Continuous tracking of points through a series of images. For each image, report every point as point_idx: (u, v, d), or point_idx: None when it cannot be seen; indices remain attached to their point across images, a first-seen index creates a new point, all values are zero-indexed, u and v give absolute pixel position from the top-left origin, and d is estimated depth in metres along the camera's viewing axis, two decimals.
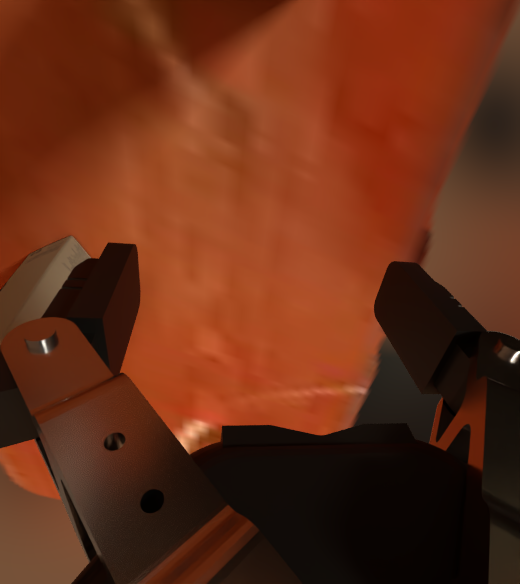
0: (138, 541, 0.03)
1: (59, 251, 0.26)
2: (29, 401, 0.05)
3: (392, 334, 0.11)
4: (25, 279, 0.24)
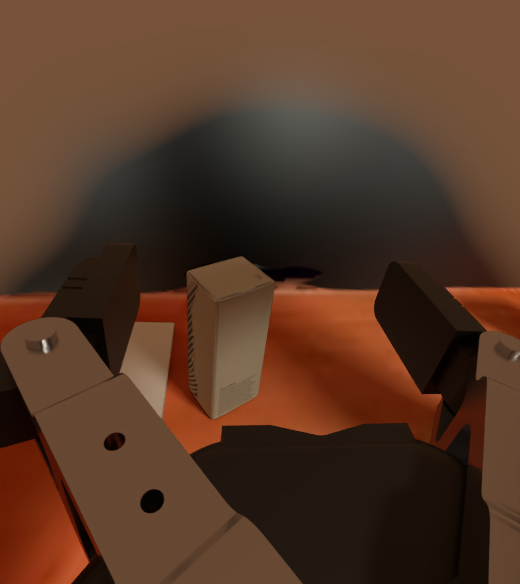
0: (138, 541, 0.03)
1: (260, 376, 0.31)
2: (29, 401, 0.05)
3: (392, 334, 0.11)
4: None
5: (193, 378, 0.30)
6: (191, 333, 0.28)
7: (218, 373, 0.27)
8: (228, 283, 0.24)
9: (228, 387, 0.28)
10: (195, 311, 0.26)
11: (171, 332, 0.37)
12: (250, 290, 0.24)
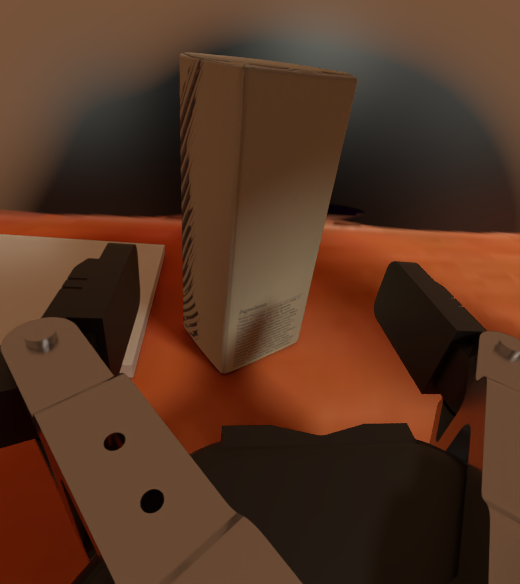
0: (138, 541, 0.03)
1: None
2: (29, 401, 0.05)
3: (392, 334, 0.11)
4: None
5: (191, 302, 0.17)
6: (187, 205, 0.15)
7: (238, 272, 0.14)
8: (266, 61, 0.11)
9: (253, 309, 0.16)
10: (195, 141, 0.13)
11: (159, 255, 0.24)
12: (314, 71, 0.11)
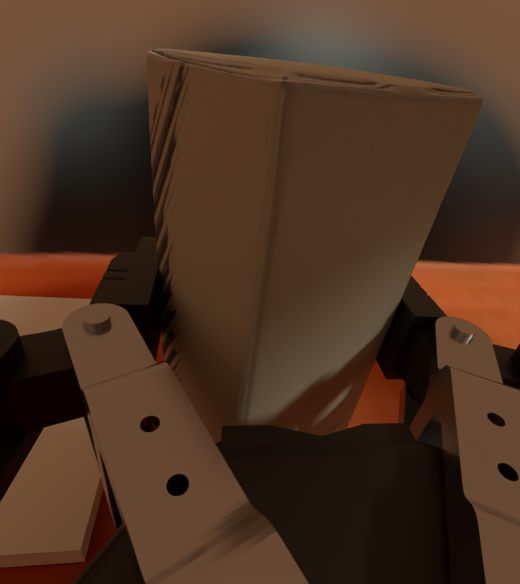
0: (138, 541, 0.03)
1: (348, 423, 0.12)
2: (80, 377, 0.06)
3: None
4: None
5: None
6: (168, 302, 0.09)
7: None
8: (320, 66, 0.06)
9: None
10: (178, 213, 0.07)
11: None
12: (421, 88, 0.05)
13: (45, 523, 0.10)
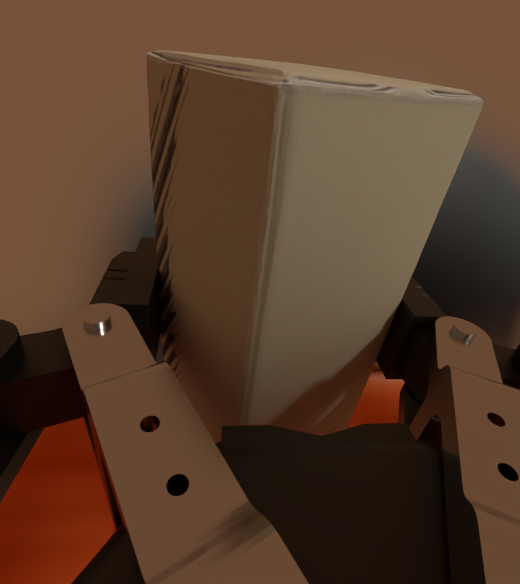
0: (138, 541, 0.03)
1: (348, 424, 0.12)
2: (81, 377, 0.06)
3: None
4: None
5: None
6: (167, 304, 0.09)
7: None
8: (320, 68, 0.06)
9: None
10: (178, 215, 0.07)
11: None
12: (422, 90, 0.05)
13: None
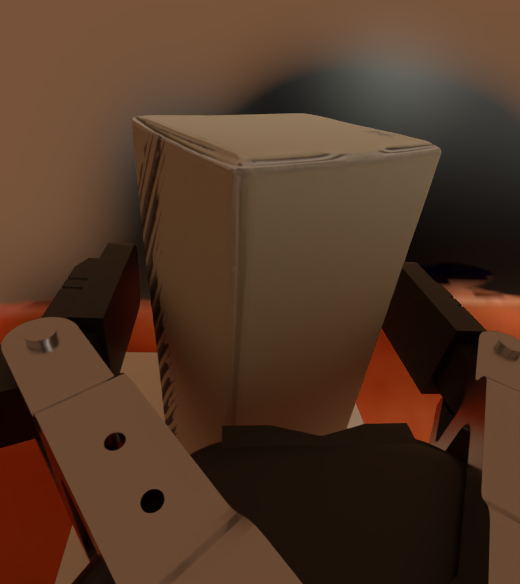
0: (138, 541, 0.03)
1: None
2: (29, 401, 0.05)
3: (392, 334, 0.11)
4: None
5: None
6: (161, 336, 0.10)
7: None
8: (284, 133, 0.06)
9: None
10: (164, 260, 0.08)
11: None
12: (374, 152, 0.06)
13: None
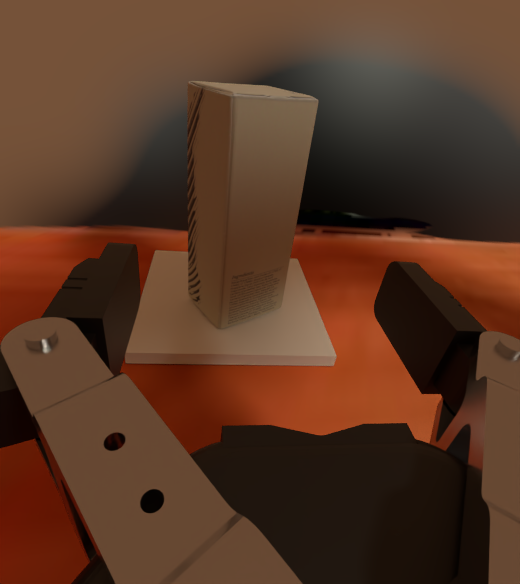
0: (138, 541, 0.03)
1: (286, 275, 0.23)
2: (29, 401, 0.05)
3: (392, 334, 0.11)
4: None
5: (195, 272, 0.22)
6: (192, 194, 0.19)
7: (230, 244, 0.18)
8: (250, 89, 0.16)
9: (243, 276, 0.20)
10: (199, 146, 0.17)
11: (299, 268, 0.29)
12: (284, 96, 0.16)
13: (314, 347, 0.21)
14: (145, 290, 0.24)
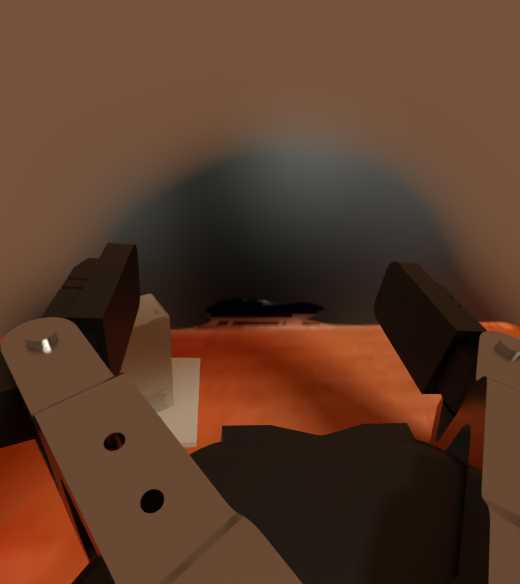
0: (138, 541, 0.03)
1: (172, 389, 0.37)
2: (29, 401, 0.05)
3: (392, 334, 0.11)
4: None
5: None
6: None
7: None
8: None
9: None
10: None
11: (198, 367, 0.44)
12: (145, 323, 0.31)
13: (185, 436, 0.36)
14: None
